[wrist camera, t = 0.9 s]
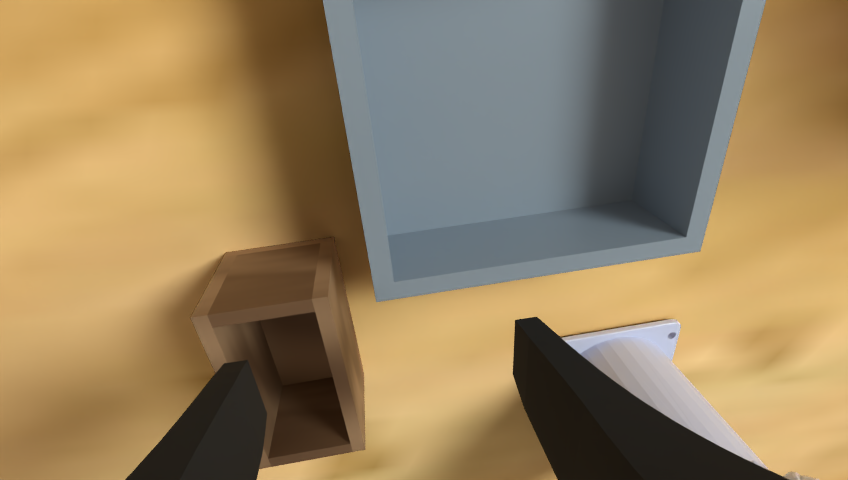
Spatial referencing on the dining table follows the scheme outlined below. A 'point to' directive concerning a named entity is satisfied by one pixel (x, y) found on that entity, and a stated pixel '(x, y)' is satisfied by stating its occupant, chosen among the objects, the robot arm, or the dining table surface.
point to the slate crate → (534, 131)
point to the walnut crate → (290, 345)
